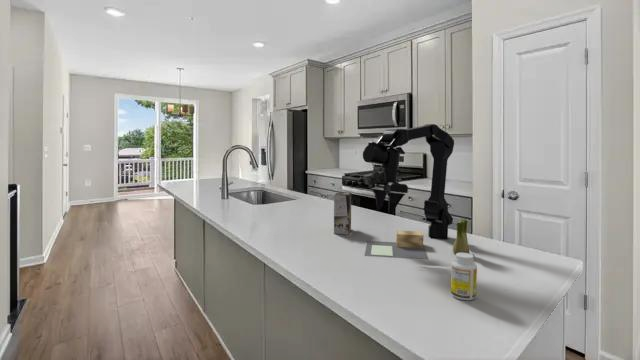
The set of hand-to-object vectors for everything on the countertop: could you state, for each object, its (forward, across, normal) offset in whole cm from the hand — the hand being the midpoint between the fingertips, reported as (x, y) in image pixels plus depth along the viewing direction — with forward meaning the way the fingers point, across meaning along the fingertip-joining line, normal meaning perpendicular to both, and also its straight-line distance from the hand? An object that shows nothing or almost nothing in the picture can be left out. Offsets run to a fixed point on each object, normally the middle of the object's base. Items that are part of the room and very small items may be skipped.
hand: (384, 211), depth 120 cm
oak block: (+11, -2, +12) cm, 17 cm away
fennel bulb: (+11, +11, +24) cm, 29 cm away
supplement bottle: (+15, +38, +5) cm, 42 cm away
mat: (+13, +1, +5) cm, 14 cm away
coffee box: (+13, -29, -4) cm, 32 cm away
